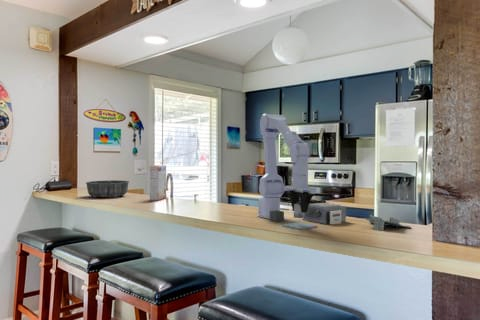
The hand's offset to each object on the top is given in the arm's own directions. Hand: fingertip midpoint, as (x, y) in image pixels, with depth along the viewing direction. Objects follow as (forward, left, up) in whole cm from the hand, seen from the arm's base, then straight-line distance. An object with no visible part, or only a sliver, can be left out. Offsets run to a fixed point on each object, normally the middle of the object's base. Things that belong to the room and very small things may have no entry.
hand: (299, 211), depth 134 cm
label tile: (+3, +16, -6) cm, 17 cm away
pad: (0, 0, -6) cm, 6 cm away
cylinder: (0, 0, -2) cm, 2 cm away
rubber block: (-14, +1, -6) cm, 15 cm away
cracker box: (-112, -9, -6) cm, 112 cm away
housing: (-4, +18, -6) cm, 19 cm away
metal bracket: (+19, +25, -6) cm, 32 cm away
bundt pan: (-144, -30, -6) cm, 147 cm away
